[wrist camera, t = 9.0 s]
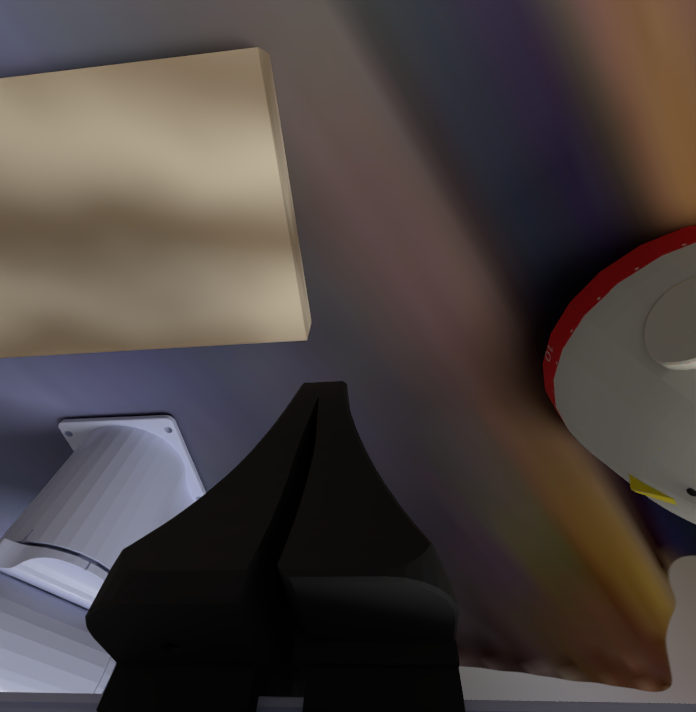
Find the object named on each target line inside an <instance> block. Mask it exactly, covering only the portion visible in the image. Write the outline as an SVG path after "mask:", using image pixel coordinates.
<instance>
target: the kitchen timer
mask: <svg viewBox="0 0 696 712" xmlns="http://www.w3.org/2000/svg"><path fill="white" fill-rule="evenodd" d="M543 373H544V384H545V391H546V392H547V394H548V396H549V398H550V400H551V402H552V403H553V405H554V407H555V409H556V411H557V412H558V414H559V416H560V417H561V419H562V420H563V422H564V424H565V425H566V427H567V429H568V430H569V431H570V432H571V433H572V435H573V436H574V437H575V438H576V439H577V440H578V441H579V442H580V443H581V444H582V445H583V446H584V447H585V448H586V449H587V450H589V451H590V452H591V453H592V454H593V455H595V456H596V457H597V458H598V459H600V460H601V461H602V462H603V463H605V464H606V465H607V466H608V467H610V468H611V469H612V470H614V471H615V472H616V473H617V474H619V475H620V476H621V477H622V478H624V479H625V480H626V481H628V482H629V483H630V486H631V490H633V491H635V492H637V493H640V494H643V495H646V496H647V497H648V498H650V499H651V500H653V501H654V502H656V503H657V504H659V505H661V506H662V507H664V508H665V509H667V510H669V511H671V512H673V513H674V514H676V515H678V516H680V517H682V518H684V519H686V520H688V521H690V522H692V523H694V524H696V225H694V226H688V227H684V228H682V229H679V230H677V231H675V232H672V233H670V234H667V235H665V236H662V237H660V238H657V239H655V240H652V241H650V242H647V243H645V244H642V245H640V246H638V247H637V248H635V249H634V250H632V251H631V252H629V253H628V254H626V255H625V256H623V257H622V258H620V259H619V260H617V261H616V262H614V263H613V264H611V265H610V266H608V267H607V268H605V269H604V270H602V271H601V272H599V273H598V274H597V275H596V276H595V278H594V279H593V280H592V281H591V282H590V283H589V284H588V285H587V286H586V287H585V288H584V289H583V290H582V291H581V292H580V293H579V294H578V295H577V296H576V297H575V298H574V299H573V300H572V301H571V302H570V303H569V305H568V306H567V308H566V309H565V311H564V313H563V314H562V316H561V318H560V319H559V321H558V323H557V324H556V326H555V328H554V329H553V331H552V332H551V334H550V338H549V342H548V345H547V349H546V353H545V357H544V360H543Z"/></svg>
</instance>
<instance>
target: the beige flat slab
mask: <svg viewBox="0 0 696 712" xmlns="http://www.w3.org/2000/svg"><path fill="white" fill-rule="evenodd" d="M310 326H311V316H310V309H309V303H308V297H307V290H306V284H305V277H304V271H303V265H302V258H301V252H300V246H299V239H298V233H297V226H296V220H295V214H294V207H293V201H292V194H291V188H290V182H289V175H288V169H287V162H286V156H285V150H284V143H283V137H282V130H281V124H280V118H279V111H278V105H277V98H276V92H275V86H274V79H273V73H272V66H271V60H270V54H269V53H268V52H266V51H264V50H262V49H260V48H258V47H255V48H247V49H239V50H230V51H222V52H214V53H206V54H197V55H189V56H181V57H173V58H164V59H156V60H148V61H140V62H131V63H123V64H115V65H107V66H98V67H90V68H82V69H74V70H65V71H57V72H49V73H41V74H32V75H24V76H16V77H7V78H0V358H8V357H25V356H43V355H60V354H77V353H94V352H112V351H129V350H146V349H163V348H180V347H198V346H215V345H232V344H249V343H266V342H284V341H301V340H307V338H308V334H309V330H310Z"/></svg>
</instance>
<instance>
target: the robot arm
mask: <svg viewBox="0 0 696 712" xmlns="http://www.w3.org/2000/svg"><path fill="white" fill-rule="evenodd" d="M58 427H59V429H60V431H61V432H62V434H63V435H64V437H65V439H66V440H67V442H68V443H69V445H70V446H71V448H72V449H73V451H74V452H73V454H72V455H71V456H70V457H69V458H68V459H67V461H66V462H65V463H64V464H63V465H62V467H61V468H60V469H59V470H58V471H57V472H56V474H55V475H54V476H53V477H52V478H51V480H50V481H49V482H48V483H47V484H46V486H45V487H44V488H43V489H42V490H41V491H40V493H39V494H38V495H37V496H36V497H35V499H34V500H33V501H32V502H31V503H30V504H29V506H28V507H27V508H26V509H25V510H24V512H23V513H22V514H21V515H20V516H19V518H18V519H17V520H16V521H15V522H14V523H13V525H12V526H11V527H10V528H9V529H8V531H7V532H6V533H5V534H4V535H3V537H2V538H1V539H0V712H696V704H670V703H669V704H668V703H667V704H666V703H613V702H612V703H611V702H555V701H553V702H551V701H497V700H496V701H495V700H464V699H463V692H462V686H461V680H460V674H459V668H458V667H459V656H458V650H457V644H456V632H457V623H458V605H457V601H456V598H455V594H454V591H453V588H452V585H451V583H450V580H449V578H448V575H447V573H446V571H445V569H444V567H443V565H442V562H441V560H440V558H439V556H438V554H437V552H436V550H435V548H434V546H433V544H432V543H431V542H430V541H429V540H428V539H427V537H426V536H425V535H424V534H423V533H422V532H421V531H420V529H419V528H418V527H417V526H416V525H415V524H414V522H413V521H412V520H411V519H410V517H409V516H408V515H407V514H406V512H405V511H404V510H403V509H402V507H401V506H400V505H399V503H398V502H397V500H396V499H395V498H394V496H393V495H392V493H391V492H390V490H389V489H388V487H387V486H386V485H385V483H384V482H383V480H382V478H381V477H380V475H379V473H378V472H377V470H376V468H375V467H374V465H373V463H372V461H371V459H370V458H369V456H368V454H367V452H366V450H365V448H364V445H363V443H362V441H361V439H360V437H359V434H358V432H357V429H356V427H355V424H354V421H353V418H352V415H351V412H350V407H349V398H348V389H347V384H346V383H345V382H343V381H336V382H316V383H304V384H303V385H302V386H301V387H300V389H299V390H298V392H297V393H296V395H295V396H294V398H293V399H292V401H291V402H290V403H289V405H288V406H287V408H286V409H285V410H284V412H283V413H282V415H281V416H280V417H279V418H278V420H277V421H276V422H275V424H274V425H273V426H272V428H271V429H270V430H269V431H268V432H267V434H266V435H265V436H264V437H263V438H262V440H261V441H260V442H259V443H258V444H257V445H256V447H255V448H254V449H253V450H252V451H251V452H250V453H249V454H248V455H247V456H246V457H245V458H244V459H243V460H242V461H241V462H240V463H239V464H238V465H237V466H236V467H235V468H234V469H233V470H232V471H231V472H230V473H229V474H228V475H227V476H226V477H225V478H223V479H222V480H221V481H220V482H219V483H217V484H216V485H215V486H214V487H213V488H212V489H210V490H209V491H208V492H207V493H206V491H205V489H204V487H203V484H202V482H201V480H200V477H199V475H198V473H197V470H196V468H195V466H194V463H193V461H192V459H191V456H190V454H189V452H188V449H187V447H186V445H185V442H184V440H183V438H182V435H181V433H180V430H179V428H178V426H177V423H176V421H175V419H174V418H173V417H171V416H169V415H154V416H131V417H108V418H85V419H65V420H62V421H61V422H60V423H59V424H58ZM168 427H169V428H168ZM170 428H171V429H170Z"/></svg>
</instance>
